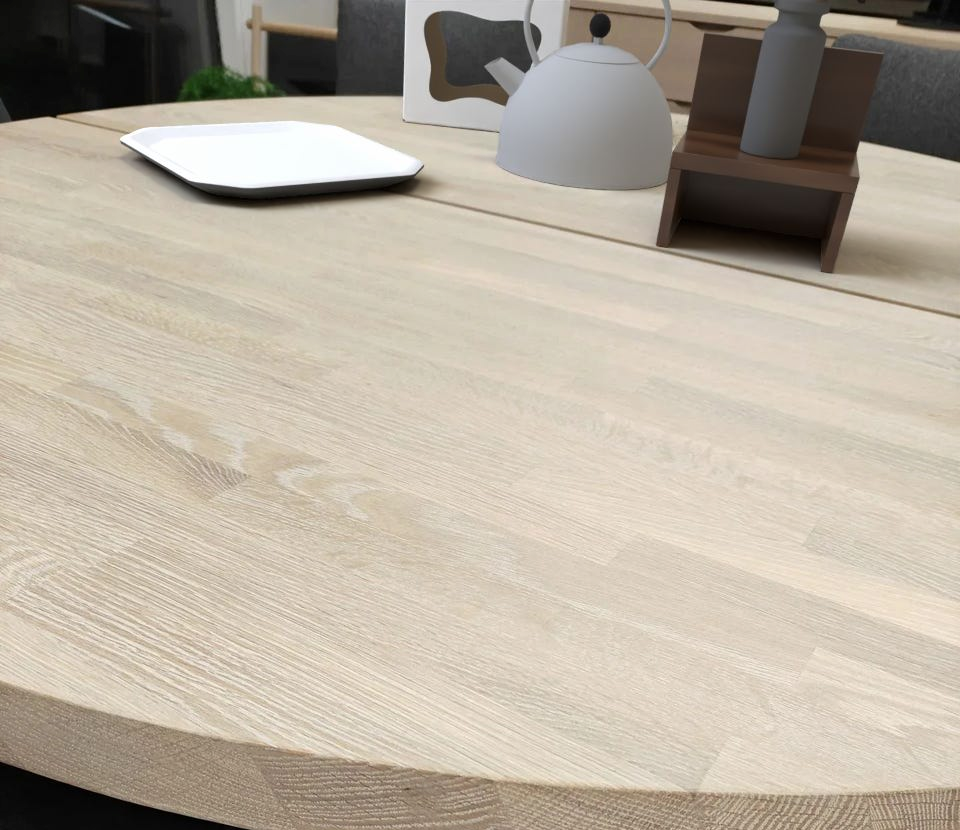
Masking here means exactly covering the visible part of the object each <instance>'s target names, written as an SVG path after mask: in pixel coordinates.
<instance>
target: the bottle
mask: <svg viewBox="0 0 960 830" xmlns="http://www.w3.org/2000/svg"><path fill="white" fill-rule="evenodd" d="M831 5H832V2H831V1H830V0H774V5H773V8H774V9H775V10H777V11H778V15H777V19H776V21H775V22H773V23H771V24H769V25H767V27H766V28H764V29H765V30H764V33H763V37H762V39H763V42H762V46H761V51H760V55H759V60H758V64H757V69H756V74H755V78H754V83H753V88H752V92H751V97H750V102H749V107H748V111H747V116H746V121H745V126H744V131H743V136H742V140H741V146H740V149H741V150H742V151H744V152H746V153H748V154H752V155H756V156H761V157H766V158H775V159H790V158H795V157H797V155H798V152H799V149H800V145H801V141H802V137H803V133H804V129H805V125H806V121H807V117H808V113H809V109H810V105H811V101H812V97H813V93H814V89H815V85H816V80H817V76H818V72H819V68H820V64H821V60H822V56H823V52H824V48H825V46H826V43H827V38H828V36H827V33H826V31H825V30H824V28H822V27H821V21H822V17H823V16H824V15H825V16H826V15H828V14H829V13H830V10H831Z"/></svg>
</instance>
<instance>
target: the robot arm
mask: <svg viewBox="0 0 960 830" xmlns="http://www.w3.org/2000/svg"><path fill="white" fill-rule="evenodd" d="M856 2H857V3H858V4H860V5H865V4H866V2H867V0H856Z"/></svg>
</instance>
